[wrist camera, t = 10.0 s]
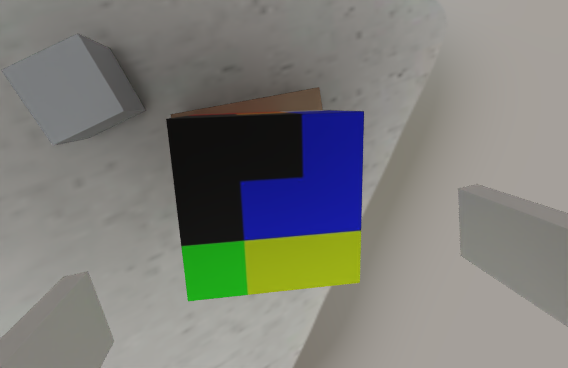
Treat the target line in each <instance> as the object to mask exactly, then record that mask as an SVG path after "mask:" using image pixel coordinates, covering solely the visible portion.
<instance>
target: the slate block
mask: <svg viewBox="0 0 568 368" xmlns="http://www.w3.org/2000/svg"><path fill="white" fill-rule="evenodd" d="M1 71H2V72H3V74H4V75H5V76H6V78H7V79H8V81H9V82H10V84H11V85H12V87H13V88H14V90H15V91H16V93H17V94H18V95H19V97H20V98H21V100H22V101H23V103H24V104H25V106H26V107H27V109H28V110H29V112H30V113H31V114H32V116H33V117H34V119H35V120H36V122H37V123H38V125H39V126H40V128H41V129H42V131H43V132H44V133H45V135H46V136H47V138H48V139H49V141H50V142H51V144H52V145H58V144H63V143H68V142H73V141H77V140H82V139H87V138H90V137H92V136H94V135H96V134H98V133H100V132H102V131H104V130H106V129H108V128H110V127H113V126H115V125H117V124H119V123H121V122H123V121H125V120H127V119H129V118H131V117H133V116H135V115H137V114H139V113H141V112H144V111H146V110H145V108H144V106H143V105H142V103H141V101H140V100H139V98H138V96H137V94H136V93H135V91H134V89H133V87H132V86H131V84H130V82H129V81H128V79H127V77H126V75H125V74H124V72H123V70H122V69H121V67H120V65H119V63H118V62H117V60H116V58H115V56H114V55H113V53H112V51H111V50H110V48H108V47H106V46H104V45H102V44H100V43H97V42H95V41H93V40H91V39H89V38H87V37H84V36H82V35H80V34H78V33H77V34H75V35H73V36H71V37H69V38H67V39H65V40H63V41H60V42H58V43H56V44H54V45H52V46H50V47H48V48H46V49H44V50H42V51H39V52H37V53H35V54H33V55H31V56H29V57H27V58H25V59H23V60H21V61H18V62H16V63H14V64H12V65H10V66H8V67H6V68H4V69H2V70H1Z"/></svg>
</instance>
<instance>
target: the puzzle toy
mask: <svg viewBox="0 0 568 368" xmlns="http://www.w3.org/2000/svg"><path fill="white" fill-rule="evenodd" d="M166 120H167V129H168V137H169V145H170V154H171V162H172V171H173V179H174V188H175V196H176V204H177V213H178V221H179V230H180V238H181V247H182V255H183V263H184V272H185V280H186V289H187V297H188V301H195V300H204V299H213V298H223V297H232V296H241V295H250V294H260V293H269V292H278V291H287V290H297V289H306V288H315V287H324V286H334V285H343V284H352V283H359V282H360V253H361V213H362V172H363V132H364V111H333V110H307V111H280V112H253V113H226V114H199V115H189V116H182V117H176V118H169V119H166Z"/></svg>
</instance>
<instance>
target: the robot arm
mask: <svg viewBox="0 0 568 368" xmlns="http://www.w3.org/2000/svg"><path fill="white" fill-rule="evenodd" d="M458 194H459V222H460V248H461V256H462V257H463V258H465V259H466V260H468V261H469V262H471V263H472V264H474V265H476V266H477V267H479V268H480V269H481V270H483V271H484V272H486V273H488V274H489V275H491V276H492V277H493V278H495V279H497V280H498V281H499V282H501V283H503V284H504V285H506V286H507V287H508V288H510V289H512V290H513V291H515V292H516V293H518V294H519V295H521V296H522V297H524V298H525V299H527V300H528V301H530V302H532V303H533V304H534V305H536V306H537V307H539V308H540V309H542V310H543V311H545V312H546V313H548V314H549V315H551V316H552V317H554V318H555V319H557V320H558V321H560V322H561V323H563V324H564V325H566V326H567V327H568V213H566V212H563V211H559V210H556V209H553V208H550V207H547V206H544V205H541V204H538V203H534V202H531V201H528V200H525V199H522V198H519V197H515V196H513V195H510V194H506V193H503V192H500V191H497V190H493V189H491V188H488V187H484V186H481V185H478V184H476V185H472V186H467V187H463V188H459V189H458ZM113 342H114V339H113V336H112V334H111V331H110V328H109V326H108V323H107V320H106V318H105V315H104V313H103V310H102V307H101V305H100V302H99V299H98V297H97V294H96V291H95V289H94V286H93V283H92V281H91V278H90V275H89V273H88V272H83V273H79V274H74V275H70V276H65V277H63V278H62V279H61V280H60V281H59V282H58V283H57V284H56V285H55V286H54V287H53V288H52V289H51V290H50V291H49V292H48V293H47V294H46V295H45V296H44V297H43V298H42V299H41V300H40V301H39V302H38V303H36V304H35V305H34V306H33V307H32V308H31V309H30V310H29V311H28V312H27V313H26V314H25V315H24V316H23V317H22V318H21V319H20V320H19V321H18V322H17V323H16V324H15V325H14V326H13V327H12V328H11V329H10V330H9V331H8V332H7V333H6V334H5V335H4V336H3V337H2V338H1V339H0V368H100V367H101V365H102V363H103V361H104V360H105V358H106V356H107V354H108V352H109V350H110V348H111V346H112V344H113Z"/></svg>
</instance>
